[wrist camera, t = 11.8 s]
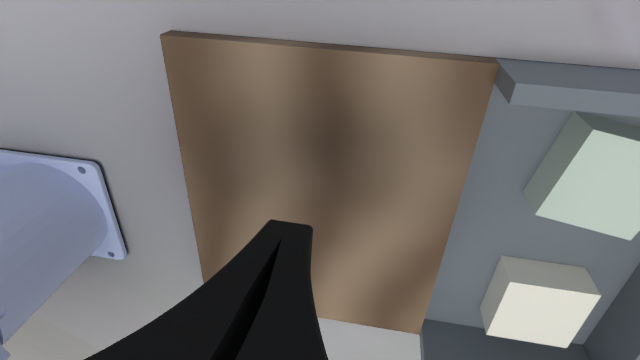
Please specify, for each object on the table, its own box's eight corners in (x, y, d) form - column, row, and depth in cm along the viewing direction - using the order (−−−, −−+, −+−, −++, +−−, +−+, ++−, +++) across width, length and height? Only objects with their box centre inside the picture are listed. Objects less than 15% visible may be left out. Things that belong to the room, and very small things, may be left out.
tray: (419, 322, 26) (421, 369, 23) (494, 57, 16) (516, 83, 14) (589, 350, 25) (614, 404, 22) (780, 81, 15) (871, 115, 12)
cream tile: (479, 307, 24) (486, 334, 22) (501, 255, 22) (509, 281, 20) (554, 319, 24) (566, 348, 22) (585, 267, 21) (601, 295, 19)
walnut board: (212, 287, 28) (206, 298, 27) (170, 30, 18) (159, 35, 17) (419, 322, 26) (419, 334, 25) (494, 57, 16) (500, 64, 16)
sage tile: (522, 191, 19) (534, 214, 18) (573, 110, 17) (593, 129, 15) (609, 214, 19) (630, 240, 18) (674, 137, 17) (705, 158, 15)
